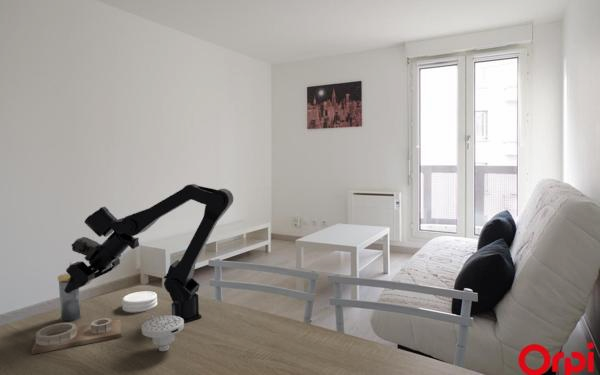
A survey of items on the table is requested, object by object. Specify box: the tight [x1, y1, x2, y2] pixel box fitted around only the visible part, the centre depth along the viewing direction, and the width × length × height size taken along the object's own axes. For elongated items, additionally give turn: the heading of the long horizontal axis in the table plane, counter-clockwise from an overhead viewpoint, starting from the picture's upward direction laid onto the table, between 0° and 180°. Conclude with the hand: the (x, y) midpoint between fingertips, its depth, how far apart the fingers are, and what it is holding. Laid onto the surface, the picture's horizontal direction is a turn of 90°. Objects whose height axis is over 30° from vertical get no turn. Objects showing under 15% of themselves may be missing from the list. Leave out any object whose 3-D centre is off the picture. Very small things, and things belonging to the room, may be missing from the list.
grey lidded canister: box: [57, 272, 81, 323], centre depth 112 cm, size 5×5×12 cm
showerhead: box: [141, 314, 185, 352], centre depth 93 cm, size 9×7×10 cm
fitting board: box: [31, 317, 122, 355], centre depth 100 cm, size 19×10×3 cm, turn 116°
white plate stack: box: [121, 290, 158, 314], centre depth 121 cm, size 10×10×4 cm
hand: (75, 286), depth 112 cm, fingers open, 9 cm apart
